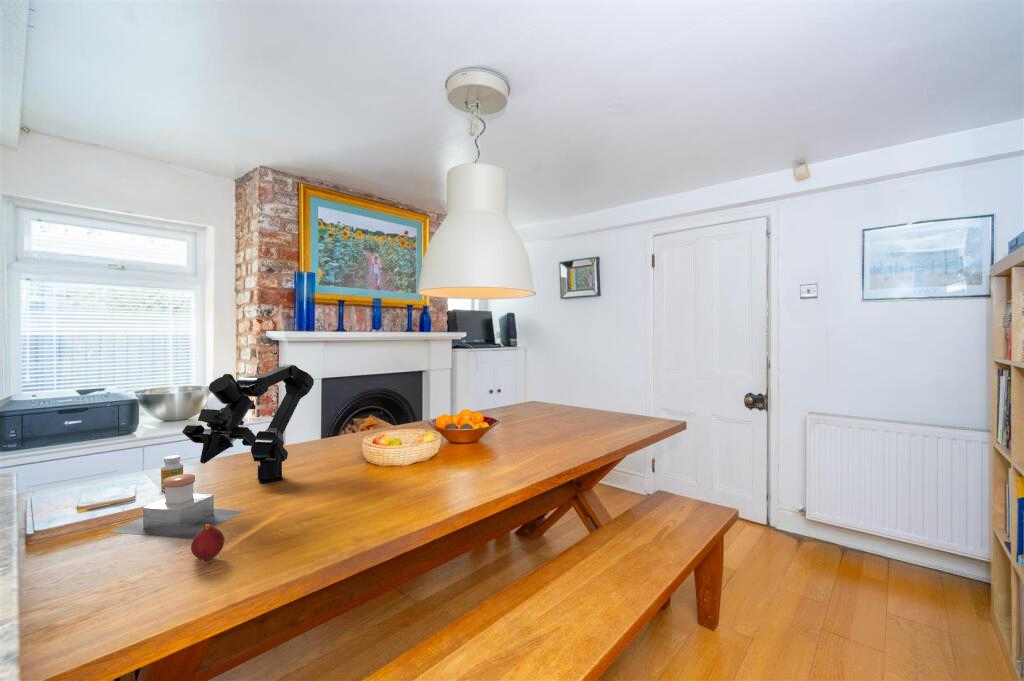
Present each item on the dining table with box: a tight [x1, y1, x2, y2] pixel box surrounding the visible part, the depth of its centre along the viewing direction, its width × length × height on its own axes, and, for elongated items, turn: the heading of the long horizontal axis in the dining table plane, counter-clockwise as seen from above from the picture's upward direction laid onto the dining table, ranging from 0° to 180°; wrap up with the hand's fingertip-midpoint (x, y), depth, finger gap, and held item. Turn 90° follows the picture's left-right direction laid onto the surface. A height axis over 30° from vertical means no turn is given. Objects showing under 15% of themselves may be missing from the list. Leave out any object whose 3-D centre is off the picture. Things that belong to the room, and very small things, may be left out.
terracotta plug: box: [163, 473, 196, 505], centre depth 112 cm, size 6×6×7 cm
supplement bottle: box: [160, 454, 184, 492], centre depth 137 cm, size 5×5×10 cm
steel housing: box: [142, 492, 215, 531], centre depth 112 cm, size 10×10×5 cm
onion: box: [190, 524, 225, 563], centre depth 95 cm, size 6×6×8 cm
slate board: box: [108, 508, 243, 540], centre depth 112 cm, size 16×22×1 cm
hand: (202, 462), depth 119 cm, fingers closed
